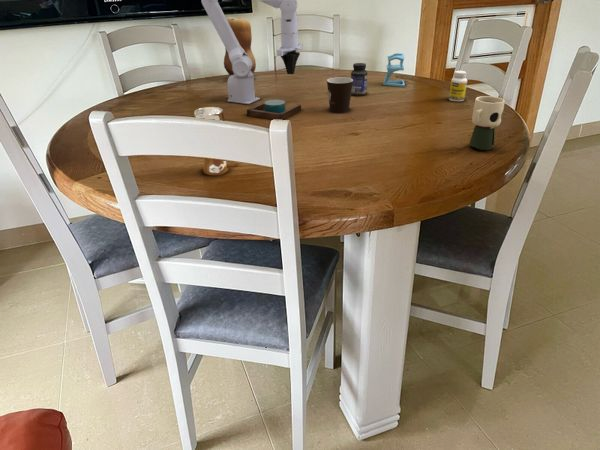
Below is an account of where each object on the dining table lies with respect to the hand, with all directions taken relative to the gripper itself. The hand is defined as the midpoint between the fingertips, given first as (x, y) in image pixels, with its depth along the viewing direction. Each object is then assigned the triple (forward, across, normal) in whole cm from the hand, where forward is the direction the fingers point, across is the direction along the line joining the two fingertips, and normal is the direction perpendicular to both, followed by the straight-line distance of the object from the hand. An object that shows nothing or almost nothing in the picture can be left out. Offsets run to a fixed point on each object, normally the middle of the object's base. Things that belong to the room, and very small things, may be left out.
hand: (290, 73), depth 165 cm
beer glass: (+10, -65, -16) cm, 68 cm away
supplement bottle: (+10, +25, -54) cm, 60 cm away
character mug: (+10, -20, -71) cm, 74 cm away
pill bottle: (+10, +18, -19) cm, 28 cm away
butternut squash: (+10, +20, +37) cm, 43 cm away
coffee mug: (+10, -3, -21) cm, 23 cm away
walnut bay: (+9, -16, -3) cm, 19 cm away
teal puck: (+9, -16, -3) cm, 19 cm away
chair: (+10, +38, -26) cm, 47 cm away
